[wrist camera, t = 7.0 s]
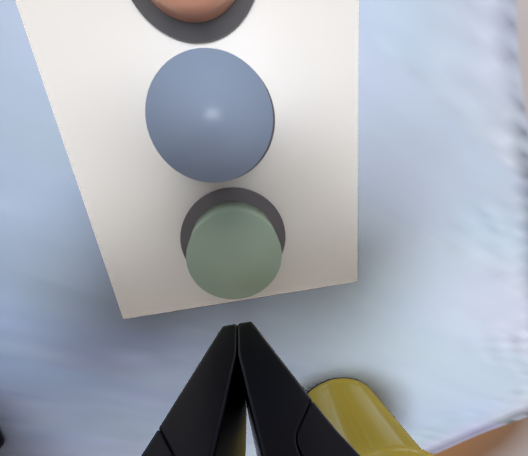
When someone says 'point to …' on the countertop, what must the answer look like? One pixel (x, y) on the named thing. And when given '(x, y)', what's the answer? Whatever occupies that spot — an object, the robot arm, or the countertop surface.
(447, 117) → the countertop surface
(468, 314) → the countertop surface
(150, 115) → the slate button
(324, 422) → the robot arm
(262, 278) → the sage button
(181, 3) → the terracotta button
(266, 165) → the button board
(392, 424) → the plant pot
